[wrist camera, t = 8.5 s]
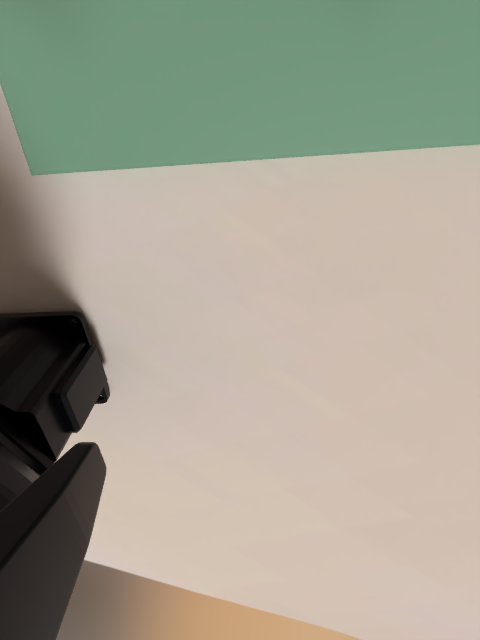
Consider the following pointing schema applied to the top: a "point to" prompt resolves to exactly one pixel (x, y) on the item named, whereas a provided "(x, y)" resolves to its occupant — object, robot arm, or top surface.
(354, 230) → the top surface
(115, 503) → the top surface
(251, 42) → the pitch
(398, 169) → the top surface
